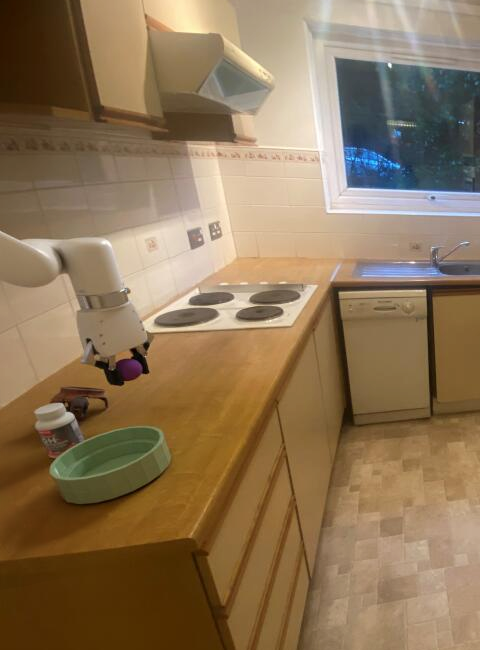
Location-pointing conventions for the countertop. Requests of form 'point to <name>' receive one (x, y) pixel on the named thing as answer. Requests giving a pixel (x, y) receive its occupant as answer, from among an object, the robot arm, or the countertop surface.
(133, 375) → the ball
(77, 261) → the robot arm
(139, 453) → the bowl
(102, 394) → the brown arched stand
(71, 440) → the pill bottle
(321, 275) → the countertop surface
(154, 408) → the countertop surface
